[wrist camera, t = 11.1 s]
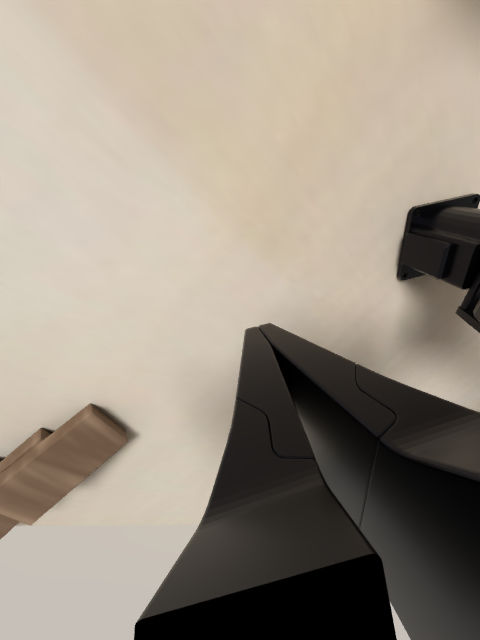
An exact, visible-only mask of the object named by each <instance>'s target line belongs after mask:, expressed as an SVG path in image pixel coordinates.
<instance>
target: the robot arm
mask: <svg viewBox="0 0 480 640" xmlns="http://www.w3.org/2000/svg"><path fill="white" fill-rule="evenodd" d="M479 202H480V195H479V194H469V195H464V196H460V197H455V198H451V199H446V200H441V201H437V202H432V203H428V204H423V205H418V206H414V207H412V208H411V209H410V211H409V214H408V219H407V225H406V230H405V236H404V241H403V247H402V252H401V258H400V263H399V269H398V274H397V277H398V278H399V279H401V280H407V279H411V278H415V277H419V276H423V275H429V276H431V277H433V278H436V279H440V280H442V281H444V282H447V283H449V284H451V285H454V286H456V287H458V288H461V289H466V290H468V292H467V294H466V296H465V298H464V300H463V302H462V304H461V306H459V307H458V309H457V311H456V314H457V315H459V316H460V317H461V318H462V319H463V320H464V321H466V322H467V323H468V324H469V325H471V326H472V327H473V328H474V329H475V330H477V331H478V332H479V333H480V209H477V208H478V205H479ZM416 211H417V212H416ZM415 212H416V214H415ZM403 274H404V275H403ZM390 602H391V604H392V606H393V607H394V609H395V611H396V613H397V615H398V617H399V619H400V620H401V622H402V624H403V626H404V628H405V630H406V631H407V633H408V635H409V637H410V639H411V640H480V412H477V411H474V410H471V409H468V408H465V407H463V406H460V405H457V404H455V403H452V402H449V401H447V400H444V399H441V398H439V397H436V396H433V395H431V394H428V393H425V392H423V391H420V390H418V389H415V388H412V387H410V386H407V385H405V384H402V383H400V382H397V381H395V380H392V379H389V378H387V377H385V376H383V375H380V374H378V373H376V372H374V371H371V370H369V369H367V368H365V367H363V366H361V365H358V364H357V365H356V364H355V363H354V362H352V361H350V360H348V359H345V358H343V357H341V356H339V355H337V354H335V353H333V352H331V351H328V350H326V349H324V348H322V347H320V346H318V345H316V344H314V343H311V342H309V341H307V340H305V339H303V338H301V337H299V336H297V335H294V334H292V333H290V332H288V331H286V330H284V329H282V328H280V327H277V326H275V325H273V324H271V323H268V324H264V325H260V326H259V327H252V328H248V329H246V330H245V336H244V343H243V350H242V357H241V365H240V372H239V379H238V386H237V394H236V401H235V407H234V413H233V419H232V424H231V429H230V433H229V436H228V440H227V444H226V447H225V451H224V454H223V457H222V461H221V464H220V467H219V471H218V474H217V477H216V480H215V484H214V487H213V490H212V494H211V497H210V500H209V503H208V506H207V508H206V511H205V513H204V516H203V518H202V520H201V523H200V524H199V526H198V528H197V530H196V532H195V533H194V535H193V537H192V538H191V539H190V541H189V543H188V544H187V546H186V547H185V549H184V550H183V552H182V554H181V555H180V556H179V558H178V560H177V561H176V563H175V564H174V566H173V567H172V569H171V570H170V572H169V573H168V575H167V577H166V578H165V580H164V581H163V583H162V584H161V586H160V587H159V589H158V590H157V592H156V593H155V595H154V597H153V598H152V600H151V601H150V603H149V604H148V606H147V607H146V609H145V611H144V612H143V613H142V615H141V617H140V618H139V620H138V621H137V623H136V625H135V636H134V640H397V639H396V635H395V628H394V623H393V617H392V612H391V606H390Z"/></svg>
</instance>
